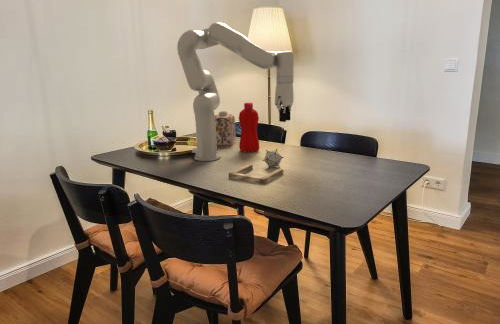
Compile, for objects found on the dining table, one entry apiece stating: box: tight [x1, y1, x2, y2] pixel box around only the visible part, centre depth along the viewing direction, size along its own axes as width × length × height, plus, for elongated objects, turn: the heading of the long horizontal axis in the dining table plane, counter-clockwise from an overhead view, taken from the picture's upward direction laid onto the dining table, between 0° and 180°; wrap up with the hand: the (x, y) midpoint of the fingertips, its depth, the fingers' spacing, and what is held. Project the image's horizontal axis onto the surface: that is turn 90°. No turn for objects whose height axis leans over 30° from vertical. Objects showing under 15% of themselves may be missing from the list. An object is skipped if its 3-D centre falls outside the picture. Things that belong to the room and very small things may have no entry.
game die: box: [262, 148, 284, 169], centre depth 178 cm, size 9×8×10 cm
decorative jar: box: [214, 110, 236, 146], centre depth 226 cm, size 12×12×18 cm
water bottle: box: [238, 102, 260, 154], centre depth 206 cm, size 9×11×25 cm
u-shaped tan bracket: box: [228, 163, 284, 185], centre depth 167 cm, size 17×16×2 cm
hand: (284, 120), depth 183 cm, fingers open, 3 cm apart
